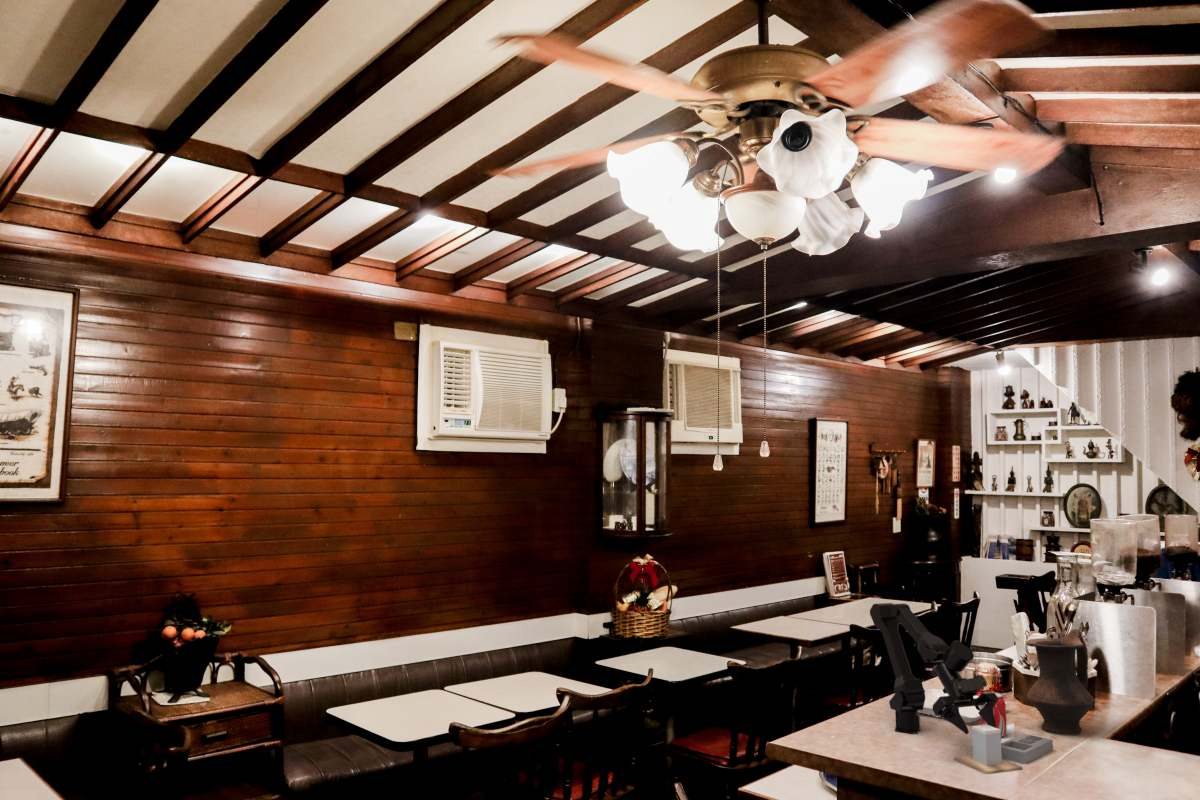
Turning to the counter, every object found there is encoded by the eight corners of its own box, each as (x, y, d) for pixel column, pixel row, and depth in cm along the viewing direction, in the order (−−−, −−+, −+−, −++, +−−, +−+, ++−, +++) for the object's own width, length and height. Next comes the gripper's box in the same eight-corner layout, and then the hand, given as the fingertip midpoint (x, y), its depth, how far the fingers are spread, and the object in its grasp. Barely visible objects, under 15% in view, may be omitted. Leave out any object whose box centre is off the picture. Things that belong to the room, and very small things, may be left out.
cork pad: (985, 774, 222) (985, 771, 222) (953, 759, 233) (953, 757, 233) (1022, 769, 225) (1022, 767, 226) (989, 755, 237) (989, 753, 237)
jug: (1068, 743, 248) (1062, 638, 251) (1014, 726, 265) (1010, 628, 268) (1116, 734, 257) (1110, 633, 260) (1061, 719, 274) (1056, 624, 276)
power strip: (1025, 764, 230) (1024, 751, 230) (995, 756, 236) (995, 745, 236) (1052, 750, 241) (1052, 739, 242) (1024, 744, 247) (1023, 732, 248)
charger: (986, 766, 226) (985, 731, 227) (973, 760, 231) (971, 726, 232) (1001, 764, 228) (1000, 729, 229) (988, 758, 233) (986, 724, 233)
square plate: (931, 697, 302) (930, 686, 303) (1010, 713, 282) (1009, 701, 282) (892, 711, 284) (892, 699, 284) (974, 729, 264) (974, 716, 264)
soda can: (1009, 739, 252) (1008, 697, 253) (984, 737, 254) (982, 696, 255) (1003, 732, 259) (1001, 691, 260) (978, 730, 260) (977, 690, 262)
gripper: (937, 667, 235) (967, 719, 224) (992, 662, 241) (1024, 713, 230) (920, 689, 242) (948, 740, 231) (973, 684, 248) (1003, 734, 236)
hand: (981, 731), depth 232 cm, fingers open, 9 cm apart
